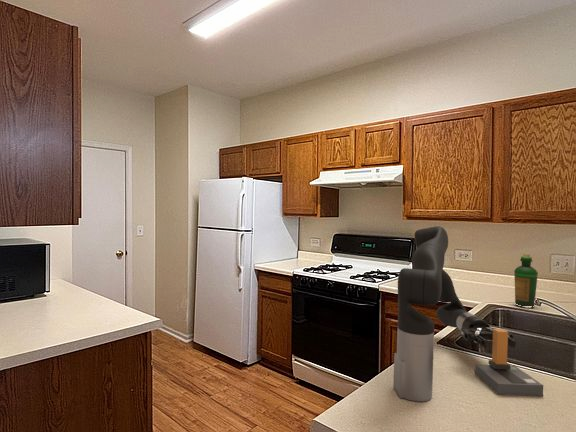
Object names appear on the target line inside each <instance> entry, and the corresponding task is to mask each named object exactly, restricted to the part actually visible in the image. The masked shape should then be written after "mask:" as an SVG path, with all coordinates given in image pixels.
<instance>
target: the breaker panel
mask: <svg viewBox="0 0 576 432" xmlns="http://www.w3.org/2000/svg"><path fill="white" fill-rule="evenodd" d="M509 365H510V369H495V368H493V367H492V366H491V365H489V364H474V375H475V376H477V377H478V378H479V379H480V380H481V381H482V382H483V383H485V384H486V385H487V386H488V387H489V388H490V389H491V390H492V391H493V392H494V393H496V394H497V395H498V396H499V395H500V396H527V397H528V396H529V397H530V396H531V397H532V396H533V397H543V396H544V384H542V383H540V382H539V381H538V380H536V379H535V378H533V377H532V376H531V375H529V374H528V373H526V372H525V371H524V370H522V369H521V368H519V367H518V366H516V365H511V364H509Z"/></svg>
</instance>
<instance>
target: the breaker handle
mask: <svg viewBox="0 0 576 432" xmlns="http://www.w3.org/2000/svg"><path fill="white" fill-rule="evenodd" d="M492 329H493V341H492V347H491V349H492V350H491V359H488V364H487V365H491V366H492V367H493V368H495V369H510V365H511V364H509V363H508V347H509V345H508V332H509V331H507V330H506V329H504V328H492Z"/></svg>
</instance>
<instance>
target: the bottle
mask: <svg viewBox="0 0 576 432" xmlns="http://www.w3.org/2000/svg"><path fill="white" fill-rule="evenodd" d="M519 261H520V262H521V265H518V266H517V267H516V268H515V269H514V270H513V271H514V273H513V274H514V301H515V302H514V304H515V303H516V304H518V305H521V306H532V307H533V306H534V307H535V305H534V300H535V301H536V294H537V286H538V285H537V284H538V275H539V273H538V271H537V269H536V268H534V267H532V262H533V259H532V256H531V254H528V253H523V254H522V256H521V257H520V259H519ZM516 304H515V305H516ZM534 307H533V308H534Z"/></svg>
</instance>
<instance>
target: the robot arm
mask: <svg viewBox="0 0 576 432" xmlns="http://www.w3.org/2000/svg"><path fill="white" fill-rule="evenodd" d="M414 243H415V247H416V249H415V251H414V254H413V256H412V260H411V265H412V268H407V267H404V268H402V269H400V271H399V273H398V276H397V333H396V335H397V336H396V337H397V338H396V352H395V353H394V357H393V359H394V361H393V381H392V382H393V384H392V385H393V389H394V391H395V392H396V394H397V396H398V398H400V399H406V400H408V401H413V402H417V403H418V402H419V403H421V402H427V401H430V400H431V399H432V398H433V382H434V381H433V380H434V378H433V377H434V350H435V349H434V340H435V323H434V320H433V319H432V318H431V317H428V316H427V315H425V314H423V313H421V312H419V311H418V310H416V309H415V307H413V306H412V305H413V304H414V305H418V306H420V305H421V306H432V307H433V306H436V305H437V304H438V303H439V302H440V303H444V305H440V306H439V307H438V308H437V310H436V313H435V314H436V317H437V319H438V321H440V322H441V324H442V325H444V326H448V327H450V328H454V329H455V328H456V329H458V330H459V331H460V337H461V338H463V339H464V340H465V341H466V342H468V343H472V341H473V343H475V344H478V345H479V346H481V347H483V348H486V347H487V343H488V342H490V341H491V342H493V329H494V328H491V326H490V324H489V323H488V322H487V321H485V320H484V319H482V318H481V317H479V316H477V315H476V314H472V313H470V312H468V311H467V309H466V307H465V306H464V305H463V303H462V302H461V300H460V298H459V297H458V294H457V292H456V289H455V286H454V283H453V280H452V278H451V276H450V275H449V274H448V273H447V271H445V269H444V266H445V259H446V258H445V256H446V252H447V249H448V247H449V236H448V233H447V231H446V230H445V228H444V227H442V226H431V227H424V228H421V229H417V230H416V231H414ZM507 332H508V347H510V348H512V349H514V348H516V346H517V345H516V344H517V342H516V340H514V337H515V335H514V334H513V333H510V332H509V331H507ZM487 341H488V342H487Z"/></svg>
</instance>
